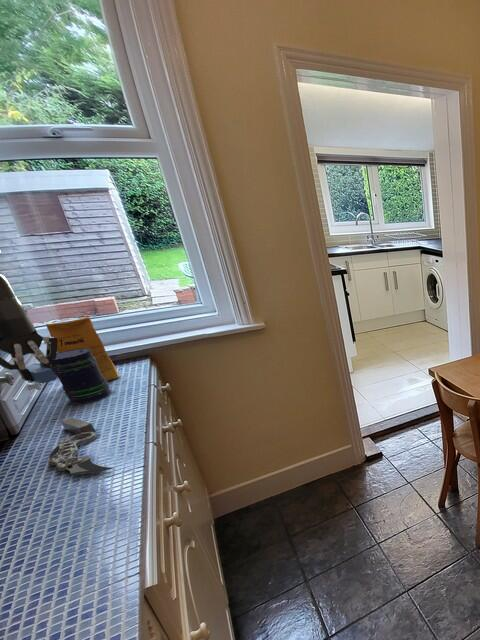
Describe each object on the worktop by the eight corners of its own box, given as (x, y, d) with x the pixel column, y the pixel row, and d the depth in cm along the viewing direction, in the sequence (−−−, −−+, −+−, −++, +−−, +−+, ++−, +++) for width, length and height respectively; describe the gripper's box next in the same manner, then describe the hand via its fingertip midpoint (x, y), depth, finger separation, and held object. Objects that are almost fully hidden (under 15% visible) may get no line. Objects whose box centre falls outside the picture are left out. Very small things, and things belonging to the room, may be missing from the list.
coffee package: (70, 383, 143) (37, 323, 134) (116, 372, 152) (88, 314, 143) (73, 390, 137) (39, 327, 128) (121, 378, 146) (92, 318, 137)
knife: (114, 465, 93) (50, 485, 86) (116, 471, 93) (53, 491, 87) (99, 427, 110) (45, 441, 104) (101, 432, 111) (48, 446, 104)
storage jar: (73, 407, 126) (48, 361, 119) (67, 399, 131) (43, 355, 125) (115, 395, 133) (93, 351, 127) (108, 388, 138) (87, 346, 132)
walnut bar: (95, 431, 111) (91, 423, 110) (83, 436, 109) (79, 427, 108) (76, 425, 115) (72, 417, 114) (65, 429, 113) (60, 421, 112)
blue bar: (57, 379, 110) (51, 369, 109) (41, 383, 108) (35, 373, 107) (39, 374, 114) (34, 364, 113) (24, 378, 112) (18, 368, 110)
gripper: (36, 309, 111) (67, 368, 118) (-43, 322, 99) (-3, 387, 107) (49, 310, 108) (80, 371, 115) (-31, 325, 97) (9, 391, 104)
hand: (40, 378), depth 111 cm, fingers closed on blue bar, 3 cm apart
